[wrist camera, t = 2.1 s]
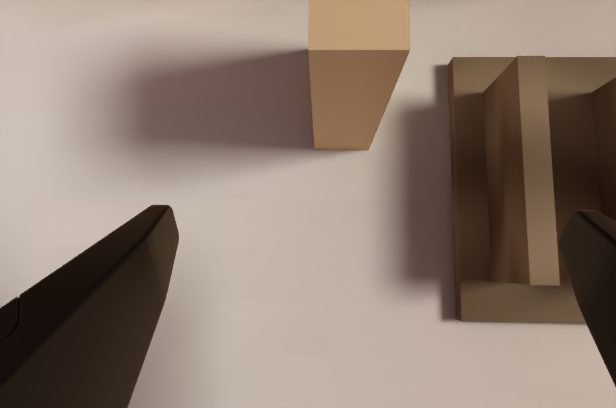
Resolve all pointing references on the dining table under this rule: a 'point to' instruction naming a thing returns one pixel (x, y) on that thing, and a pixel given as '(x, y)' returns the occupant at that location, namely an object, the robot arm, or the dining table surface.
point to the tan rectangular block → (354, 67)
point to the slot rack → (526, 178)
